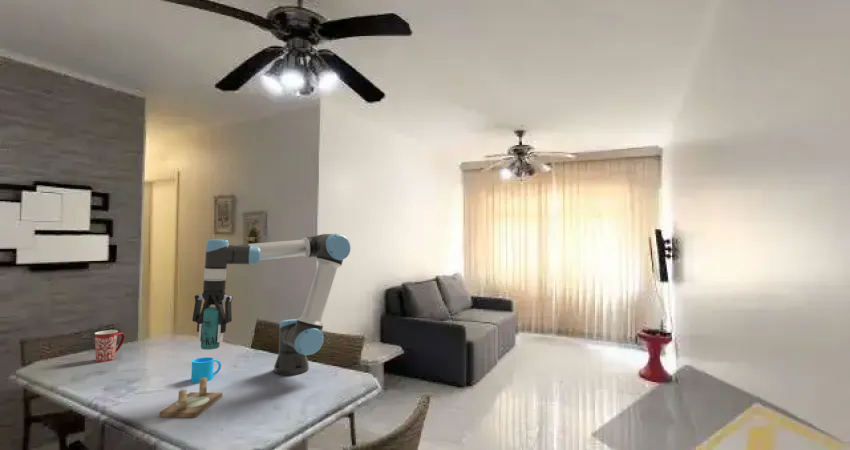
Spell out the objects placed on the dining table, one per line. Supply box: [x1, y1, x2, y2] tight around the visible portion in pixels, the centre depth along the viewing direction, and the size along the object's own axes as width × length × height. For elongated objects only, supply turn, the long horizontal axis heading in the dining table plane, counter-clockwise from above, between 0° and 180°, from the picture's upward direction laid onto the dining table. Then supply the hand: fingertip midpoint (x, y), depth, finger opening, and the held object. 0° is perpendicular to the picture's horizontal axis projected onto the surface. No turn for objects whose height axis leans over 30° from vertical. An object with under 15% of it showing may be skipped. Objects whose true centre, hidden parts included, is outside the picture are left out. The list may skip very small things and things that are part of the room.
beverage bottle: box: [200, 299, 221, 351], centre depth 155 cm, size 6×7×20 cm
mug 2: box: [190, 356, 222, 384], centre depth 175 cm, size 12×8×8 cm
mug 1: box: [94, 329, 126, 363], centre depth 200 cm, size 13×9×14 cm
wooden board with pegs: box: [158, 378, 223, 418], centre depth 145 cm, size 12×18×8 cm, turn 0°
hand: (210, 341), depth 155 cm, fingers closed on beverage bottle, 6 cm apart
